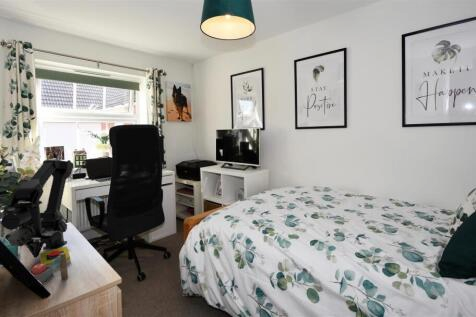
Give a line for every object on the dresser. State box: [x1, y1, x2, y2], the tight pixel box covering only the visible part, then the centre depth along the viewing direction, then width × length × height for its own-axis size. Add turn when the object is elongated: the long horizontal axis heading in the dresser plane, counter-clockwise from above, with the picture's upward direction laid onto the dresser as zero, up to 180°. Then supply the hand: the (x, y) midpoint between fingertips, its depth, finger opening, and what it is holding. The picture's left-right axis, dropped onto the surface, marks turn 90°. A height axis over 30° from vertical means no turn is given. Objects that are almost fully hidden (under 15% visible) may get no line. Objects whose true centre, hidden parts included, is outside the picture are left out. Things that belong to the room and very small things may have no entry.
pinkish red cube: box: [31, 263, 46, 275], centre depth 89 cm, size 4×4×4 cm
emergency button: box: [39, 246, 73, 271], centre depth 102 cm, size 9×4×15 cm
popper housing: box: [30, 266, 55, 285], centre depth 89 cm, size 5×5×4 cm
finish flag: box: [52, 253, 69, 281], centre depth 88 cm, size 5×2×9 cm, turn 176°
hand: (36, 257), depth 102 cm, fingers closed
